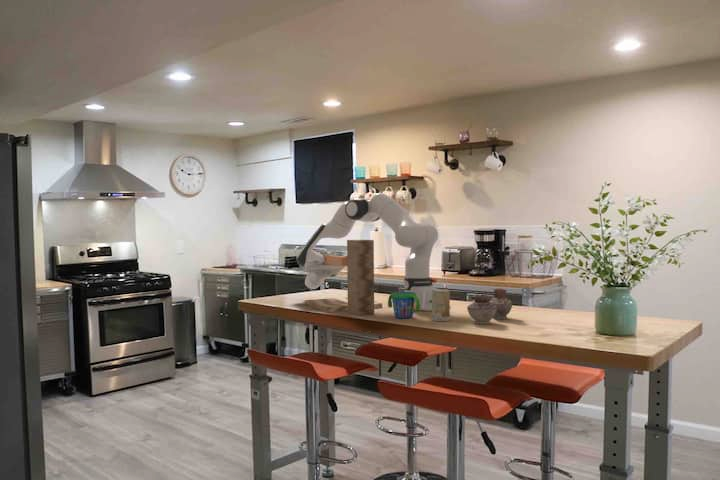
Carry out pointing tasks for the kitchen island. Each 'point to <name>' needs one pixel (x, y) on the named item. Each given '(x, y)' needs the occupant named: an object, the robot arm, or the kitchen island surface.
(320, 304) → the oak base board
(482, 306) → the pottery
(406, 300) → the snack cup
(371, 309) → the walnut stand
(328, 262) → the terracotta rail
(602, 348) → the kitchen island surface
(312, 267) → the robot arm
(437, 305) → the skincare box
